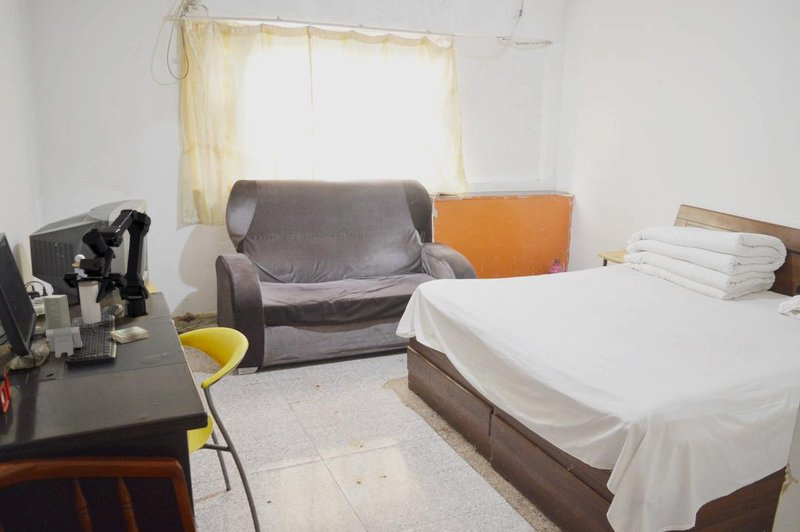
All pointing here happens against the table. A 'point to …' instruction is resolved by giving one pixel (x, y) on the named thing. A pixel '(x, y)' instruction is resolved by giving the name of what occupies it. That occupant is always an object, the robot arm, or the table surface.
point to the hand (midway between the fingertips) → (88, 302)
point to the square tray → (130, 334)
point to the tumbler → (89, 301)
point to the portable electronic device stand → (63, 340)
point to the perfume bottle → (78, 265)
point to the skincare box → (56, 311)
